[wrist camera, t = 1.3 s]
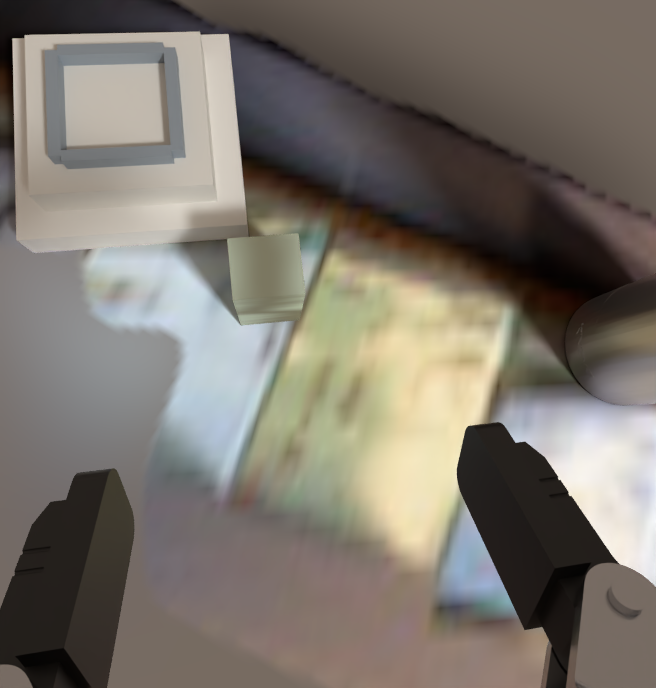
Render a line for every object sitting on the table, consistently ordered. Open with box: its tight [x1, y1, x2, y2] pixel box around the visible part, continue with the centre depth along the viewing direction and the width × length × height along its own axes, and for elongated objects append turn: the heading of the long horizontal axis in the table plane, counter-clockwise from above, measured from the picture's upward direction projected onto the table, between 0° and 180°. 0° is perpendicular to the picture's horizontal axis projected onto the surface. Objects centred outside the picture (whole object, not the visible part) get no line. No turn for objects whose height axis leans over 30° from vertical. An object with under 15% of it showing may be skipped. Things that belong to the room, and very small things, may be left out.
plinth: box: [12, 32, 249, 253], centre depth 36 cm, size 16×16×6 cm
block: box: [227, 233, 305, 325], centre depth 34 cm, size 4×4×8 cm
